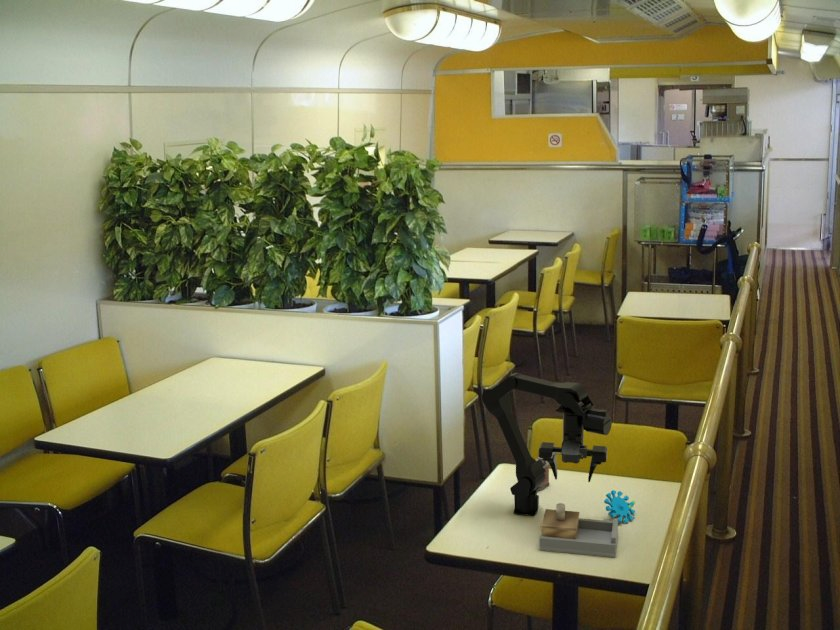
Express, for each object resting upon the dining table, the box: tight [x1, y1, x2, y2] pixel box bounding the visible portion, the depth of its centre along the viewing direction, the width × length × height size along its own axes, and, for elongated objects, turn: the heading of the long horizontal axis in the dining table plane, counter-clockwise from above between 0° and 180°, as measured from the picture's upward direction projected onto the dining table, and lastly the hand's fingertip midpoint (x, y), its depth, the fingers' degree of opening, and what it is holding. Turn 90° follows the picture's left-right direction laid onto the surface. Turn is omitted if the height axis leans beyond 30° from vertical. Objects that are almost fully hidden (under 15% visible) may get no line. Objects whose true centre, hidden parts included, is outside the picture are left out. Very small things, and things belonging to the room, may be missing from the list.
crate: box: [540, 502, 580, 539], centre depth 251 cm, size 9×10×9 cm
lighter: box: [535, 456, 551, 493], centre depth 284 cm, size 8×3×10 cm, turn 134°
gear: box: [603, 489, 636, 524], centre depth 265 cm, size 11×6×10 cm
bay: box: [539, 517, 619, 558], centre depth 250 cm, size 20×14×5 cm
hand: (572, 480), depth 259 cm, fingers open, 9 cm apart
